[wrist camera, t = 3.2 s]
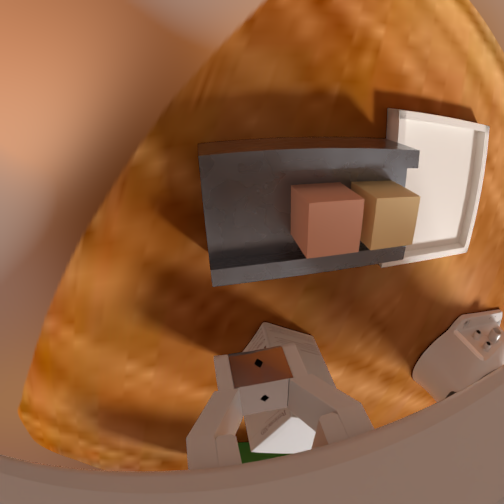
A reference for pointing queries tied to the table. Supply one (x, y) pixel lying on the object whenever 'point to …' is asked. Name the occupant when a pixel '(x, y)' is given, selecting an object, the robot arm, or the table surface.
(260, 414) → the supplement box
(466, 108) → the table surface
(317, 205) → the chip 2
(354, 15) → the table surface
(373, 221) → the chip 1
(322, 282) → the table surface
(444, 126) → the tray
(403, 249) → the slot block
